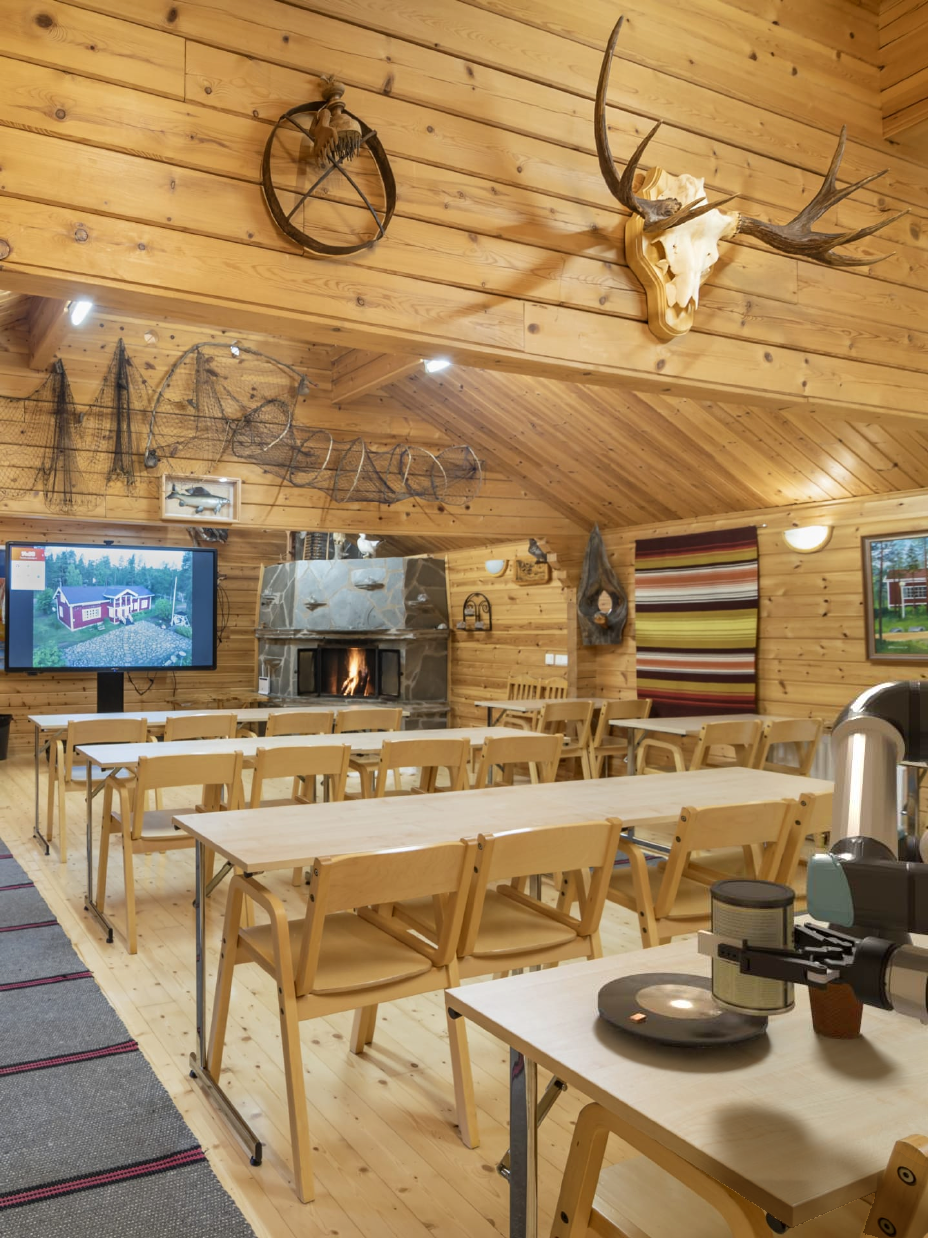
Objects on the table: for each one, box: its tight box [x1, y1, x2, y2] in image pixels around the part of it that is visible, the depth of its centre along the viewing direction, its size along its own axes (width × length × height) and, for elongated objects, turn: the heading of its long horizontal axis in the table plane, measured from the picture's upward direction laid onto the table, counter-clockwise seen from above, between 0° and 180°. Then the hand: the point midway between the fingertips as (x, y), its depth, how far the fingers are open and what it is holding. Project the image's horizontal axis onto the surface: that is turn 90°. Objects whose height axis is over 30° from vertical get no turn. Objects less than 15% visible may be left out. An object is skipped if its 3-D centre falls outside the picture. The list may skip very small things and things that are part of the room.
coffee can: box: [709, 878, 796, 1017], centre depth 119 cm, size 10×10×14 cm
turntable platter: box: [597, 972, 769, 1049], centre depth 136 cm, size 24×24×2 cm
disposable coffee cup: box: [807, 955, 865, 1039], centre depth 135 cm, size 10×10×12 cm
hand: (721, 932), depth 122 cm, fingers closed on coffee can, 10 cm apart
